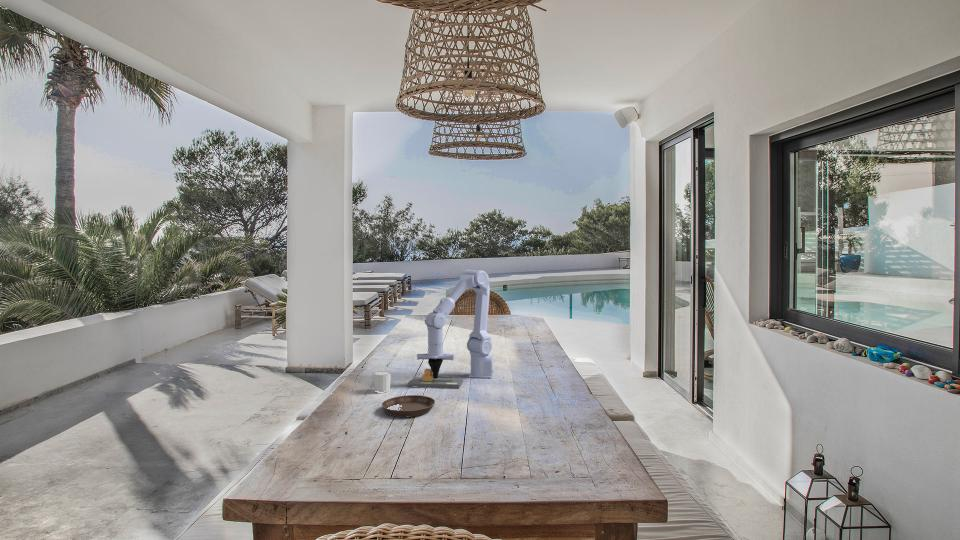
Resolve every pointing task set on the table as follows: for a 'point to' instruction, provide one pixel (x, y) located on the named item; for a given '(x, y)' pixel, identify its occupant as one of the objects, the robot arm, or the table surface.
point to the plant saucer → (409, 405)
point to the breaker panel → (437, 382)
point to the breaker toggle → (427, 375)
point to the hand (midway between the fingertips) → (435, 377)
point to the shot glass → (382, 381)
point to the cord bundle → (444, 377)
